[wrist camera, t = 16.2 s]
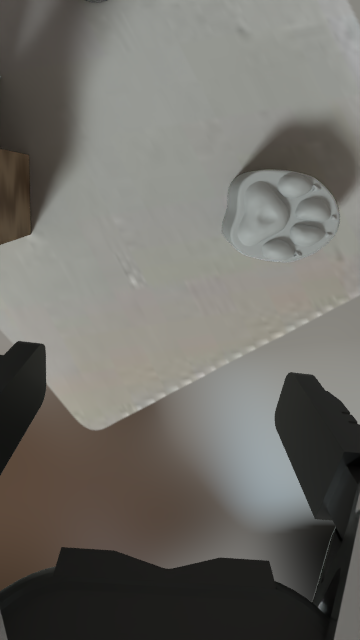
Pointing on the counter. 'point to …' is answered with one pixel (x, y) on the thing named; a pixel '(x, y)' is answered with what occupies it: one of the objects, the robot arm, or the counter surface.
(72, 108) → the counter surface
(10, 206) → the brown wooden box
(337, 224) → the lumpy-topped squat cylinder
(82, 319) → the counter surface
